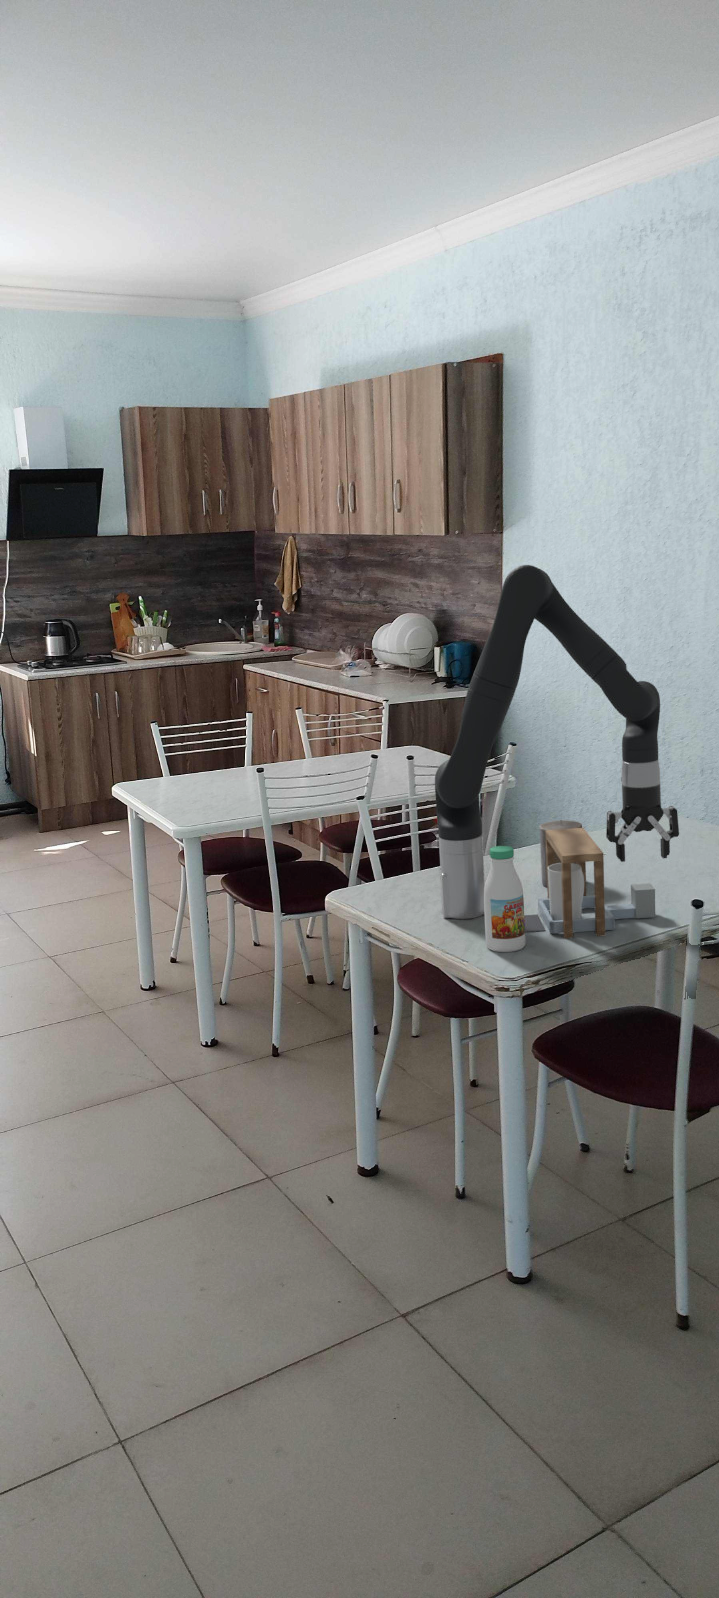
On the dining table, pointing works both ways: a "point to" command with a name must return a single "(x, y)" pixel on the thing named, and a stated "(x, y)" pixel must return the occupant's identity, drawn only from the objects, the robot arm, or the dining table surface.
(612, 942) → the dining table surface
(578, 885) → the mug
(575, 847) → the tunnel
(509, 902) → the milk bottle
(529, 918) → the gray flat slab
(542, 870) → the pillar candle
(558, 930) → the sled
